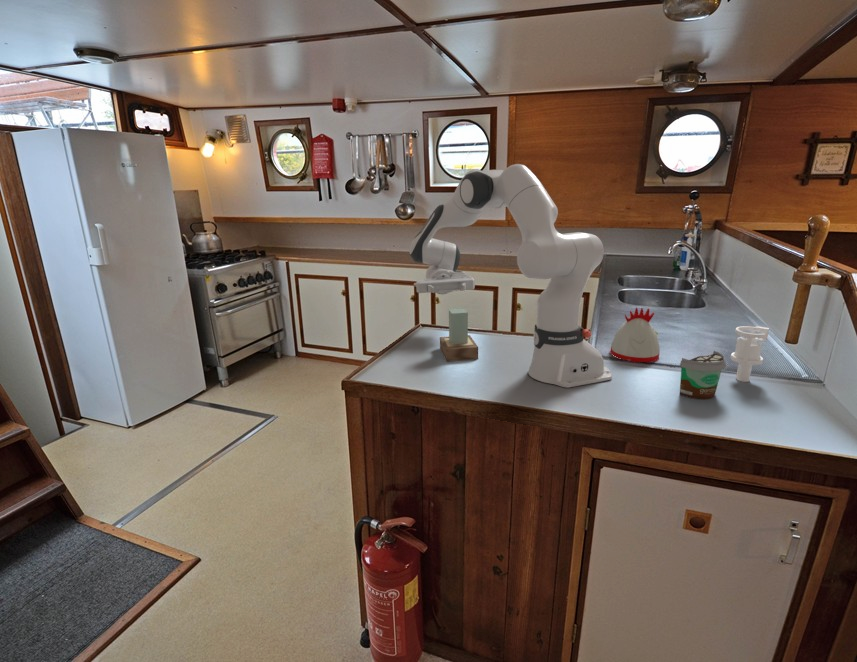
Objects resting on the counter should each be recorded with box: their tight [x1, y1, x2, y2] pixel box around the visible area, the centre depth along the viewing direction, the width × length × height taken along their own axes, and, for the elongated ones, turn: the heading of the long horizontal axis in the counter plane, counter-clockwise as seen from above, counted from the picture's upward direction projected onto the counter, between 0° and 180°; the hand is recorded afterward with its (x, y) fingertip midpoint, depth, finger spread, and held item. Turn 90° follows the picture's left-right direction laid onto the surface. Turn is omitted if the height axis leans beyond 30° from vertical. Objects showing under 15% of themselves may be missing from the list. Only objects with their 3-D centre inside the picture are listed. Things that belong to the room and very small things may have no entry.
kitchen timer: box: [610, 307, 661, 363], centre depth 145 cm, size 14×14×15 cm
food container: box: [679, 350, 727, 400], centre depth 118 cm, size 12×6×10 cm, turn 114°
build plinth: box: [439, 334, 479, 362], centre depth 152 cm, size 10×12×4 cm
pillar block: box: [448, 308, 469, 344], centre depth 149 cm, size 5×5×10 cm
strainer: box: [730, 325, 770, 383], centre depth 125 cm, size 7×7×15 cm
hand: (448, 289), depth 158 cm, fingers open, 8 cm apart
